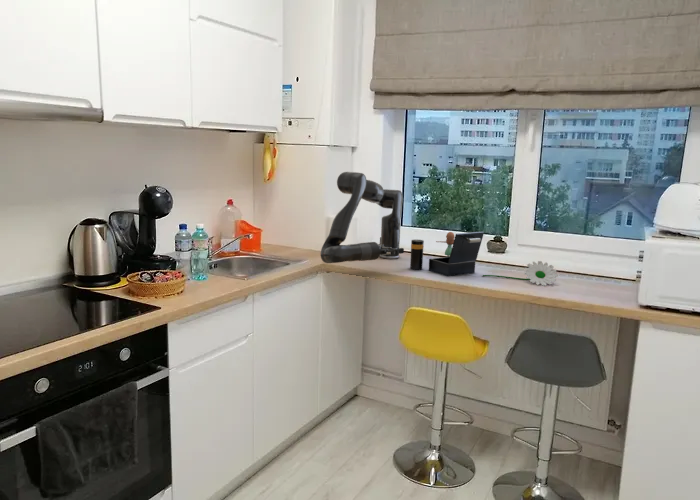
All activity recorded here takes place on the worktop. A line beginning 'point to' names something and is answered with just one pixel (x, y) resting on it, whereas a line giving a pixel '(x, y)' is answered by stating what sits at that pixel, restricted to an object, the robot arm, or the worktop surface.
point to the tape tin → (416, 254)
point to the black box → (451, 267)
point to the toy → (448, 243)
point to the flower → (537, 273)
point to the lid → (466, 247)
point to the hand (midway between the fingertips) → (397, 248)
